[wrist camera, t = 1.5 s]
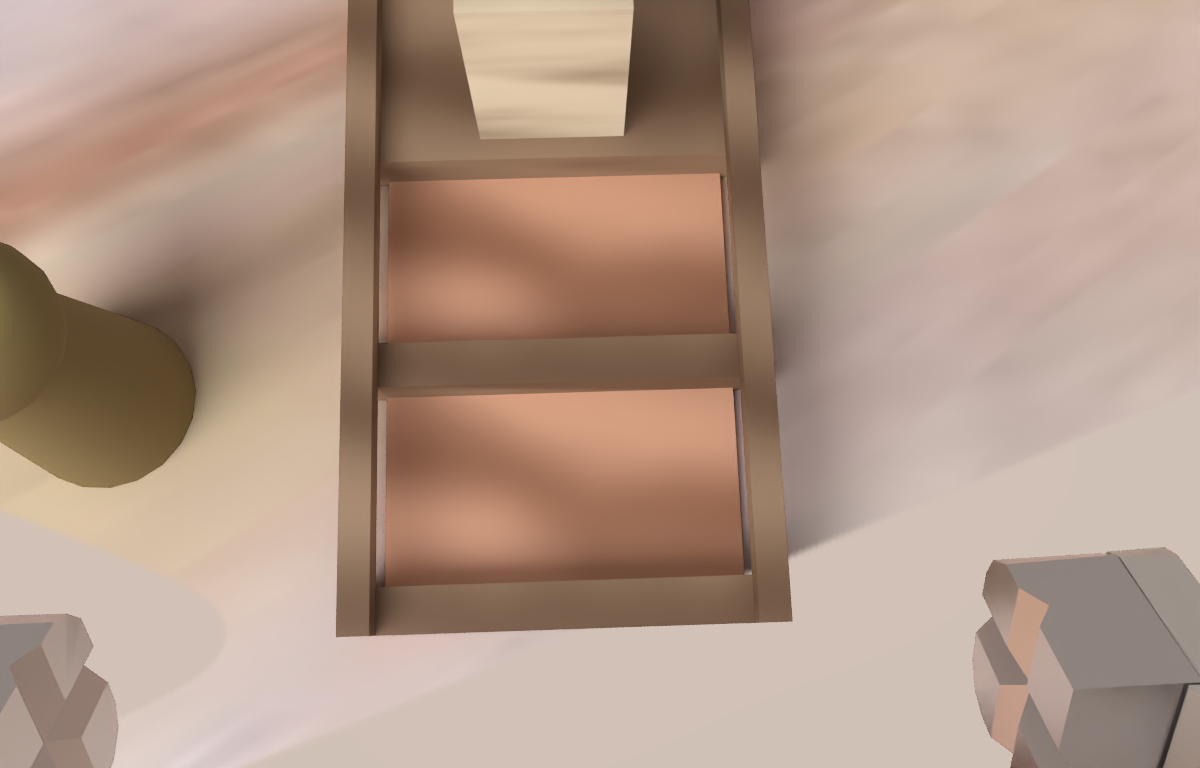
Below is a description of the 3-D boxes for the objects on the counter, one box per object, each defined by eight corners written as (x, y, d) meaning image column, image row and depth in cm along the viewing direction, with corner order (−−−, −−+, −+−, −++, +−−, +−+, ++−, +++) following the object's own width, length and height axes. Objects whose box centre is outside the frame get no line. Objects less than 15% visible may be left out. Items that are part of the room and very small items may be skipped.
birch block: (479, 10, 39) (452, -144, 31) (618, 7, 39) (626, -148, 31) (480, 139, 38) (453, 12, 30) (623, 135, 38) (633, 8, 30)
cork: (-16, 435, 37) (-257, 357, 27) (85, 288, 39) (-106, 158, 28) (130, 520, 37) (-56, 476, 26) (229, 368, 38) (89, 267, 27)
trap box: (367, -148, 43) (333, -272, 37) (723, -155, 43) (745, -278, 37) (356, 636, 36) (312, 637, 30) (775, 621, 36) (812, 620, 31)
